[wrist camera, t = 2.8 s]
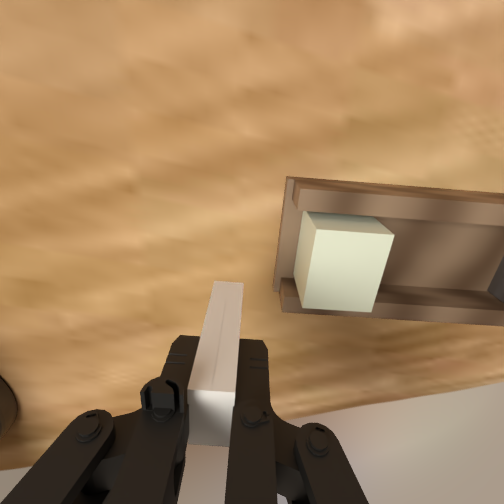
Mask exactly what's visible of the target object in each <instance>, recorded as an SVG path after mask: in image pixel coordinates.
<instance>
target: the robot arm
mask: <svg viewBox="0 0 504 504" xmlns="http://www.w3.org/2000/svg"><path fill="white" fill-rule="evenodd" d="M243 286H244V283H237V282H224V281H214V285H213V289H212V293H211V297H210V301H209V305H208V309H207V313H206V317H205V321H204V325H203V329H202V332H201V336H200V337H199V336H185V335H180V336H179V337H178V338H177V339H176V340H175V341H174V342H173V343H172V346H171V348H170V351H169V355H168V357H167V359H166V363H165V365H164V367H163V370H162V373H161V376H160V377H157V378H155V379H152V380H150V381H149V382H148V383H147V384H145V385H144V387H143V388H142V390H141V391H140V395H141V404H142V408H141V409H139V410H137V411H135V412H132V413H129V414H125V415H120V416H116V417H112V416H111V414H110V413H109V412H107V411H105V410H99V409H96V410H91V411H87V412H85V413H83V414H81V415H79V416H78V417H77V418H76V419H74V420H73V421H72V422H71V423H70V424H69V425H68V426H67V428H66V429H65V430H64V431H63V432H62V433H61V434H60V436H59V437H58V438H57V439H56V440H55V441H54V442H53V444H52V445H51V446H50V447H49V448H48V449H47V450H46V452H45V453H44V454H43V455H42V456H41V457H40V459H39V460H38V461H37V462H36V463H35V464H34V465H33V467H32V468H31V469H30V470H29V471H28V472H27V473H26V475H25V476H24V477H23V478H22V479H21V481H19V483H18V484H17V485H16V486H15V487H14V488H13V490H12V491H11V492H10V493H9V494H8V495H7V497H6V498H5V499H4V500H3V501H2V502H1V503H0V504H177V501H178V496H179V491H180V486H181V482H182V477H183V472H184V467H185V451H186V447H187V442H188V444H193V445H209V446H225V447H229V458H228V469H227V481H226V493H225V504H277V493H278V494H280V495H282V496H285V497H286V499H287V502H288V504H369V503H368V501H367V499H366V497H365V495H364V493H363V491H362V489H361V486H360V484H359V482H358V480H357V478H356V476H355V474H354V472H353V470H352V468H351V466H350V464H349V461H348V459H347V458H346V455H345V453H344V451H343V449H342V447H341V445H340V443H339V441H338V439H337V438H336V436H335V435H334V433H333V432H332V431H331V430H330V429H328V428H327V427H326V426H324V425H321V424H319V423H307V424H305V425H303V426H302V427H301V428H299V427H297V426H294V425H291V424H289V423H287V422H285V421H283V420H282V419H280V418H279V417H278V416H277V415H276V414H275V412H274V411H273V409H272V407H271V403H270V388H269V370H268V368H269V366H268V349H267V347H266V345H265V344H264V342H263V340H252V339H239V338H240V325H241V312H242V299H243ZM16 415H17V405H16V401H15V398H14V396H13V394H12V392H11V391H10V389H9V388H8V386H7V385H6V384H5V383H4V381H3V380H2V379H1V378H0V439H1V438H2V437H3V436H4V434H5V433H6V432H7V430H8V429H9V428H10V427H11V425H12V424H13V422H14V421H15V419H16Z"/></svg>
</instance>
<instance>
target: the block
mask: <svg viewBox="0 0 504 504" xmlns="http://www.w3.org/2000/svg"><path fill="white" fill-rule="evenodd" d="M394 236H395V235H394V234H393V233H392V232H391V231H389V230H388V229H387V228H386V227H385V226H384V225H382V224H381V223H380V222H379V221H378V220H376V219H375V218H374V217H373V216H364V215H351V214H338V213H324V212H311V211H303V215H302V221H301V228H300V234H299V241H298V247H297V253H296V260H295V266H294V272H293V274H294V278H295V282H296V286H297V290H298V294H299V298H300V301H301V305H302V308H310V309H325V310H341V311H356V312H372V308H373V305H374V302H375V298H376V295H377V292H378V288H379V285H380V282H381V278H382V275H383V272H384V269H385V265H386V262H387V259H388V255H389V252H390V249H391V245H392V242H393V239H394Z"/></svg>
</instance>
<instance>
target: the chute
mask: <svg viewBox="0 0 504 504" xmlns="http://www.w3.org/2000/svg"><path fill="white" fill-rule="evenodd" d="M303 211H311V212H324V213H338V214H351V215H364V216H373V217H374V218H375V219H376V220H378V221H379V222H380V223H381V224H382V225H384V226H385V227H386V228H387V229H388V230H389V231H391V232H392V233H393V234H394V235H395V236H394V239H393V242H392V245H391V249H390V252H389V255H388V259H387V262H386V265H385V269H384V272H383V275H382V278H381V282H380V285H379V288H378V292H377V295H376V298H375V302H374V305H373V308H372V312H356V311H341V310H325V309H310V308H302V305H301V301H300V298H299V294H298V290H297V286H296V282H295V278H294V274H293V272H294V266H295V260H296V253H297V247H298V241H299V234H300V228H301V221H302V215H303ZM273 291H274V292H279V295H280V301H281V308H282V312H287V313H303V314H318V315H334V316H350V317H366V318H381V319H397V320H413V321H428V322H444V323H460V324H475V325H491V326H504V194H502V193H489V192H477V191H464V190H452V189H439V188H426V187H414V186H401V185H389V184H376V183H364V182H351V181H338V180H326V179H313V178H301V177H288V176H286V184H285V192H284V200H283V208H282V216H281V224H280V232H279V240H278V248H277V256H276V264H275V272H274V280H273Z"/></svg>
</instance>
